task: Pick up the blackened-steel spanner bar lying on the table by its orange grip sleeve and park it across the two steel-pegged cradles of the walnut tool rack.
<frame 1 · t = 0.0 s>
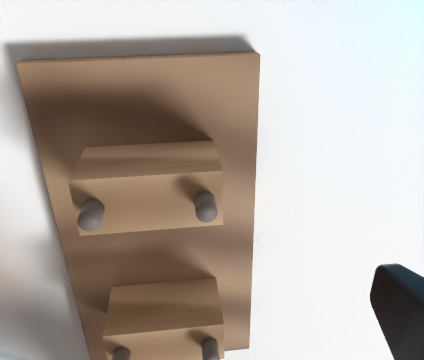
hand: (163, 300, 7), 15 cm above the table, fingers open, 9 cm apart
tool rack: (160, 230, 24), on the table
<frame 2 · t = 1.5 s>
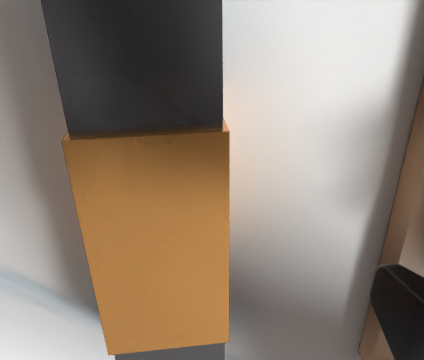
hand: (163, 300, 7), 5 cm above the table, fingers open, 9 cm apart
spanner bar: (161, 184, 12), on the table
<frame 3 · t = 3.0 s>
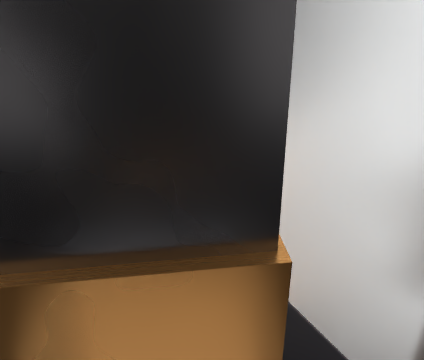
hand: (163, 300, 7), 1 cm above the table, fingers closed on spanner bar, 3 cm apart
spanner bar: (163, 266, 8), on the table, touching gripper
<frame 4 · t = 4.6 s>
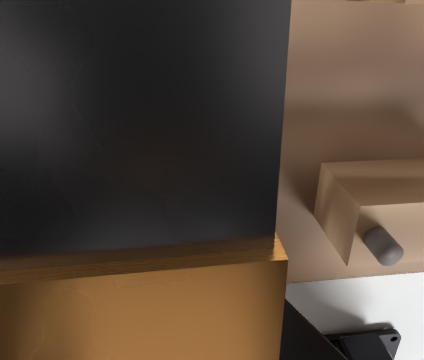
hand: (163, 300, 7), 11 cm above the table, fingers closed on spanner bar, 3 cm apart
spanner bar: (161, 265, 8), point 10 cm above the table, touching gripper
tool rack: (395, 82, 17), on the table
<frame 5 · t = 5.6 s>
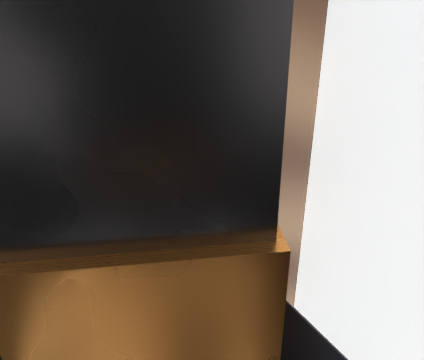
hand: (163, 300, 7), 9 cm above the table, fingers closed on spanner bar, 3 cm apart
spanner bar: (163, 261, 8), point 8 cm above the table, touching gripper
tool rack: (164, 137, 15), on the table
when the fingers open (8 cm above the table, at t = 6.4 s): spanner bar drops 2 cm, resting on tool rack.
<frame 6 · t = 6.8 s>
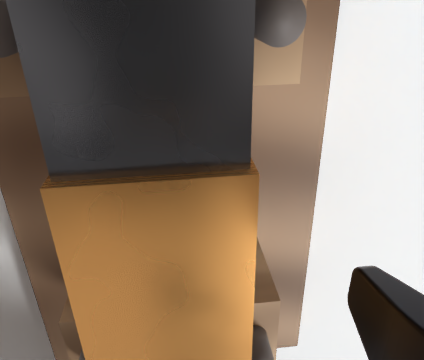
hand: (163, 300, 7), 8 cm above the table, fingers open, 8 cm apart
spanner bar: (167, 217, 10), point 5 cm above the table, touching tool rack
tool rack: (164, 149, 14), on the table
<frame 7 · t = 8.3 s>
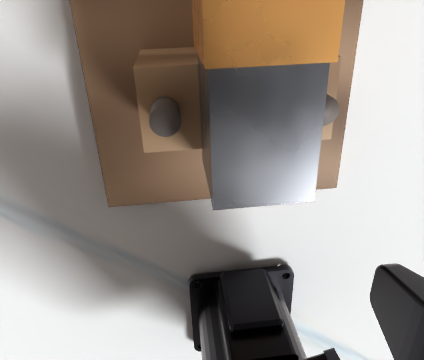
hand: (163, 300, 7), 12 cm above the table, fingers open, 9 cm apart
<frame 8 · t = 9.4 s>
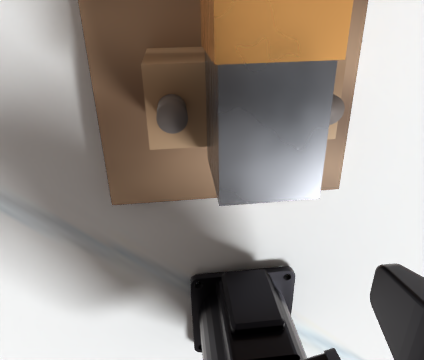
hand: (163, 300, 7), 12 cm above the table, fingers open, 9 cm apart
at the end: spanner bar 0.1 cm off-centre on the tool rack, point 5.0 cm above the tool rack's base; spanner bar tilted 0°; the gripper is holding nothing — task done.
